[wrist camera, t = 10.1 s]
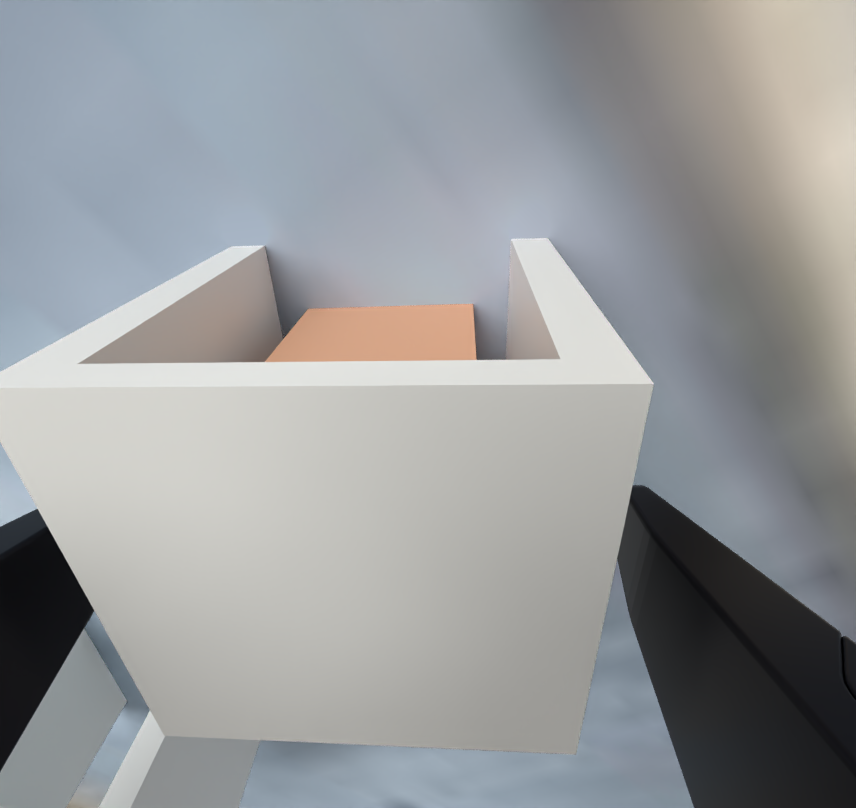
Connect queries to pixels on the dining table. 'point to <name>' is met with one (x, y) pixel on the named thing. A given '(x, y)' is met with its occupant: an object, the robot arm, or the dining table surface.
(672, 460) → the dining table surface
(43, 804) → the cover
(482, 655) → the cover
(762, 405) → the dining table surface
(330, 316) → the plain orange cube
